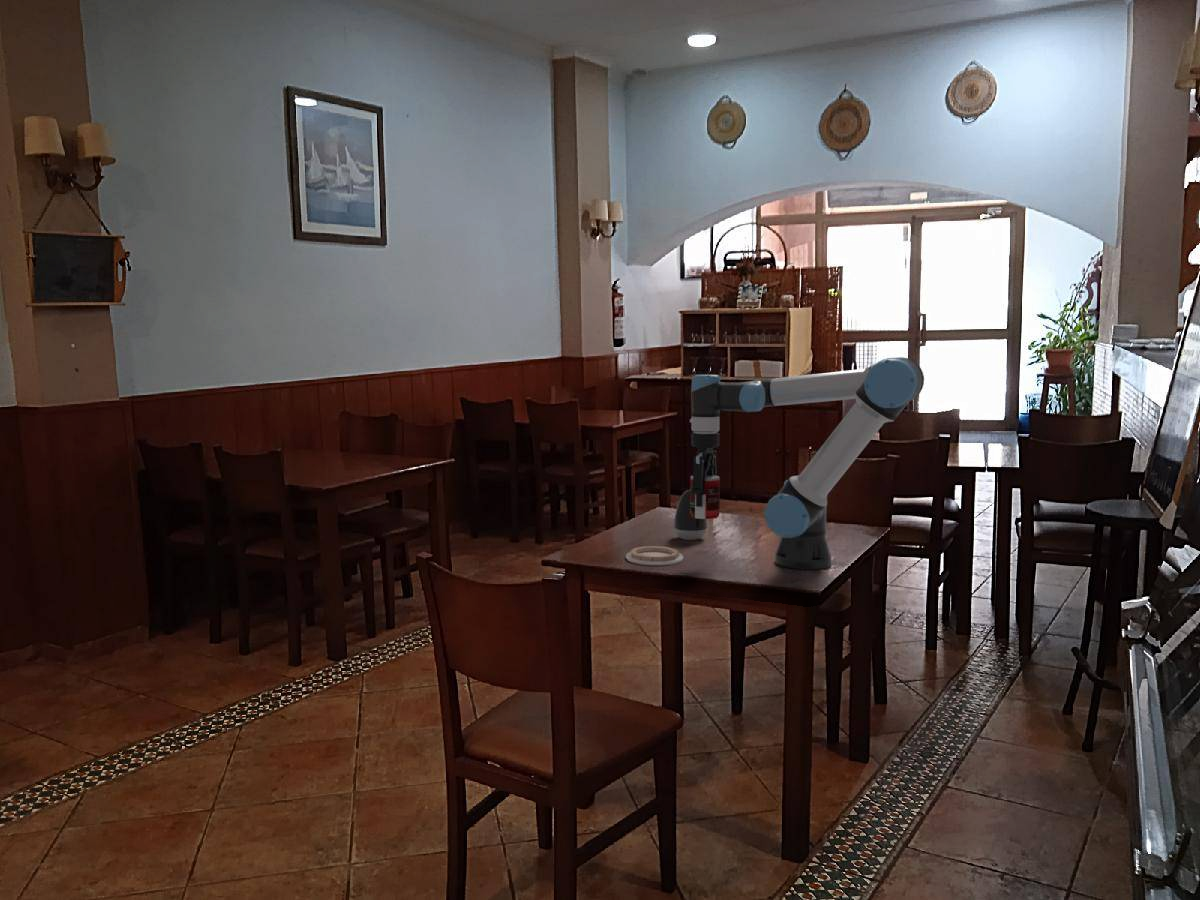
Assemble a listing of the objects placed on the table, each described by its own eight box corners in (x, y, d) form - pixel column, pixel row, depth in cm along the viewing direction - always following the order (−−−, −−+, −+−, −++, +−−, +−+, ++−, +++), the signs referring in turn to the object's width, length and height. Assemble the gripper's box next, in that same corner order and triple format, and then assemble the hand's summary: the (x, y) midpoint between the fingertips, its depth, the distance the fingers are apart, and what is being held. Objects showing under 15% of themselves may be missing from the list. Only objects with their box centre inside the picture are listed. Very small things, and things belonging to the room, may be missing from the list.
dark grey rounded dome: (706, 535, 298) (707, 487, 296) (707, 542, 288) (708, 492, 286) (673, 534, 299) (674, 486, 297) (673, 541, 289) (673, 492, 287)
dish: (690, 555, 272) (690, 548, 271) (672, 568, 257) (672, 560, 257) (638, 549, 278) (638, 543, 278) (617, 562, 263) (617, 554, 263)
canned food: (691, 513, 264) (691, 474, 263) (720, 514, 263) (720, 474, 262) (689, 518, 257) (689, 478, 256) (718, 519, 256) (719, 478, 254)
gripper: (703, 428, 268) (702, 508, 271) (679, 435, 249) (679, 521, 252) (729, 429, 265) (728, 510, 268) (707, 436, 246) (707, 523, 249)
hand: (704, 515), depth 260 cm, fingers closed on canned food, 8 cm apart
